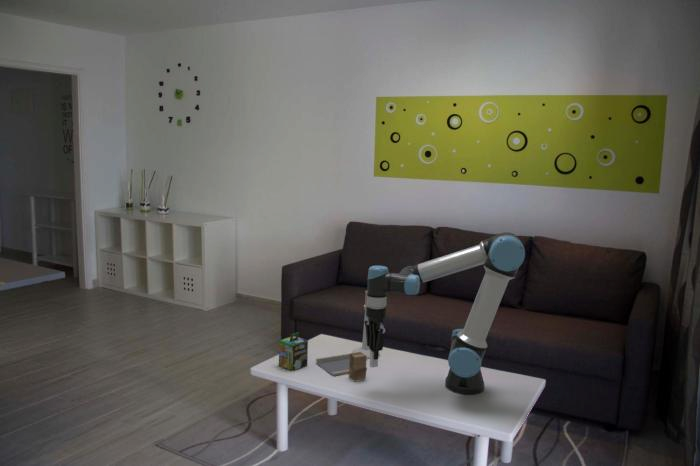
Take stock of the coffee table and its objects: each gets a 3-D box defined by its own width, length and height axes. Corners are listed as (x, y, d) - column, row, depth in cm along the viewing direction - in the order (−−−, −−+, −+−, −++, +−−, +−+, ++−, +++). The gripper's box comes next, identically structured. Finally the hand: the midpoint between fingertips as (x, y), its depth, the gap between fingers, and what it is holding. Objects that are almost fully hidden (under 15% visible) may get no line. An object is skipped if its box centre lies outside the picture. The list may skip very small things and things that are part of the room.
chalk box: (293, 360, 252) (293, 328, 251) (308, 365, 247) (308, 332, 245) (277, 366, 245) (278, 332, 244) (292, 371, 240) (293, 337, 238)
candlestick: (356, 348, 271) (357, 286, 267) (382, 351, 268) (384, 288, 264) (348, 357, 259) (350, 291, 255) (376, 360, 255) (378, 294, 252)
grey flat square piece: (366, 370, 243) (366, 364, 243) (333, 376, 235) (333, 370, 235) (348, 358, 257) (348, 353, 256) (316, 363, 249) (316, 358, 249)
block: (365, 379, 233) (366, 355, 232) (354, 381, 230) (355, 357, 229) (359, 375, 237) (360, 351, 236) (348, 377, 235) (349, 353, 234)
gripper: (394, 309, 215) (391, 370, 218) (375, 301, 226) (373, 359, 229) (376, 311, 211) (374, 373, 214) (359, 303, 222) (356, 362, 225)
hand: (373, 366), depth 221 cm, fingers closed
